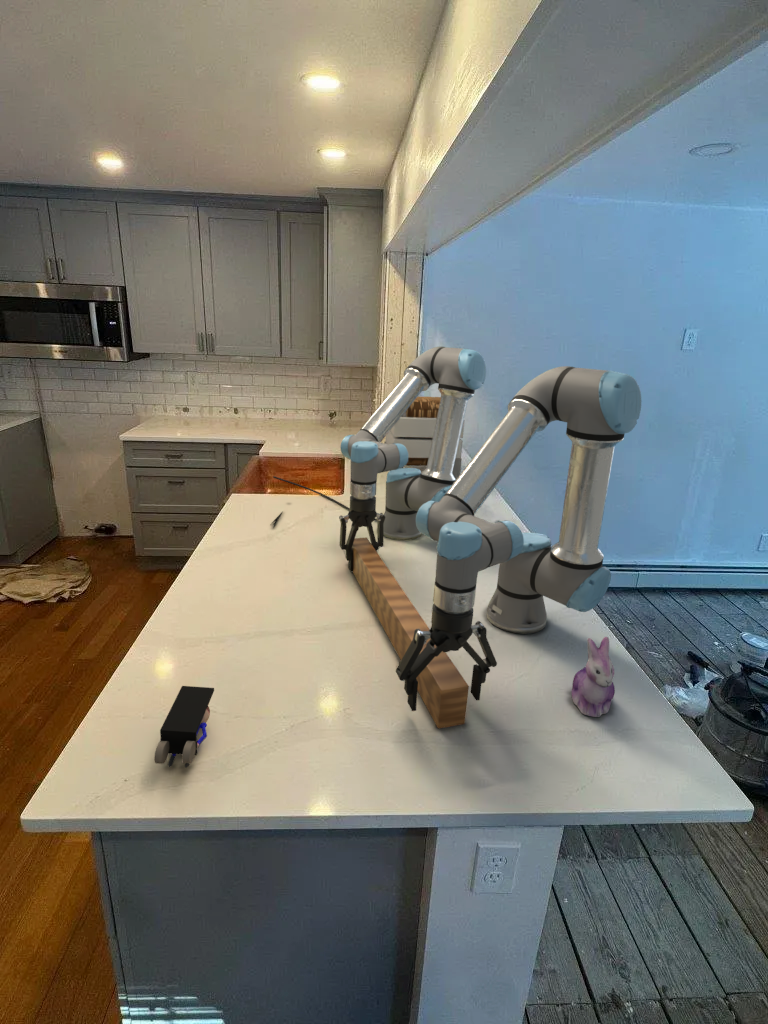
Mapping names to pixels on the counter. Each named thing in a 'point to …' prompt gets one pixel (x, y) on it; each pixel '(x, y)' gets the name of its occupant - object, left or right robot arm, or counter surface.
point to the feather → (276, 520)
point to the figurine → (594, 681)
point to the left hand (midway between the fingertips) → (360, 568)
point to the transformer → (420, 432)
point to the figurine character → (184, 725)
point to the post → (410, 636)
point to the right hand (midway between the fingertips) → (443, 701)
